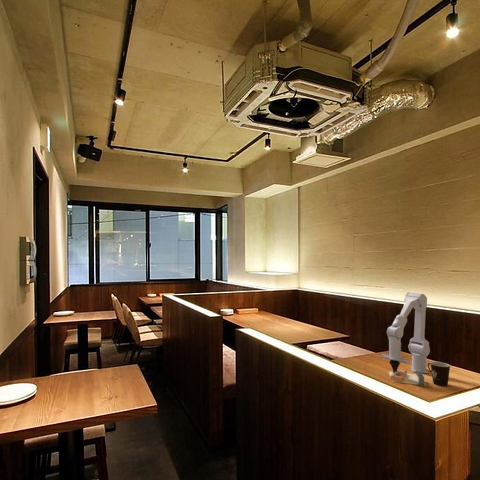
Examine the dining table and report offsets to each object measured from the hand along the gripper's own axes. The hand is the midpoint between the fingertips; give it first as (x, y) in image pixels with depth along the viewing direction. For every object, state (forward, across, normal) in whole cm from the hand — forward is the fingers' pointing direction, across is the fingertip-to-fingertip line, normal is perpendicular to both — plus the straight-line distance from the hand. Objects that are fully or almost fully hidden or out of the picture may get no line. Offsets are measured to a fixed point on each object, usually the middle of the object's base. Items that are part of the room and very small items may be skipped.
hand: (395, 374), depth 183 cm
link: (+1, +2, 0) cm, 3 cm away
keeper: (+1, +12, 0) cm, 13 cm away
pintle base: (+1, +5, +2) cm, 6 cm away
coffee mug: (+1, +19, +8) cm, 21 cm away
